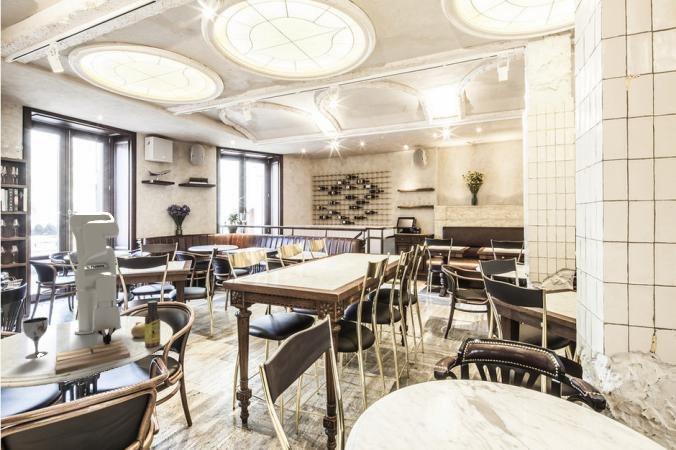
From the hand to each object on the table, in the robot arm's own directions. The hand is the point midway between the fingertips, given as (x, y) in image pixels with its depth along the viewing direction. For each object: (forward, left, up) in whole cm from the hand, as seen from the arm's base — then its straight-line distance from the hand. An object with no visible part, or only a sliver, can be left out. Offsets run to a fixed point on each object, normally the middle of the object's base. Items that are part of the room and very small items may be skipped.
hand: (107, 343), depth 153 cm
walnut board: (+14, -6, -1) cm, 15 cm away
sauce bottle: (+12, +16, -2) cm, 20 cm away
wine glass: (-8, -24, -2) cm, 25 cm away
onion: (-4, +14, -2) cm, 15 cm away
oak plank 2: (+4, 0, -1) cm, 4 cm away
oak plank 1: (+4, -12, -1) cm, 13 cm away
